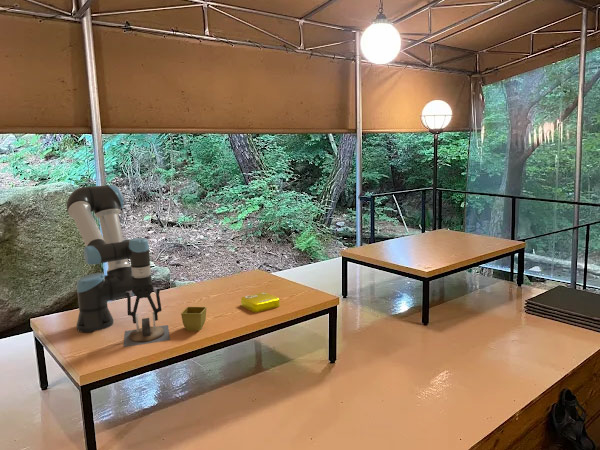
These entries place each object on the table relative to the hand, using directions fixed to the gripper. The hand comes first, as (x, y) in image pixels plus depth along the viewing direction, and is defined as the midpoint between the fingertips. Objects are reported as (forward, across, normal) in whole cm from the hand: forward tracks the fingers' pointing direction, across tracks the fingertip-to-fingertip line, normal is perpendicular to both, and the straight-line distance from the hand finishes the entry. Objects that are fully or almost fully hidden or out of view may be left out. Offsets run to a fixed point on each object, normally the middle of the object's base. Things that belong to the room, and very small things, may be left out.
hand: (146, 329), depth 199 cm
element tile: (+4, +54, +20) cm, 57 cm away
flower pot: (+4, +20, 0) cm, 20 cm away
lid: (+3, 0, 0) cm, 3 cm away
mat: (+3, 0, 0) cm, 3 cm away
